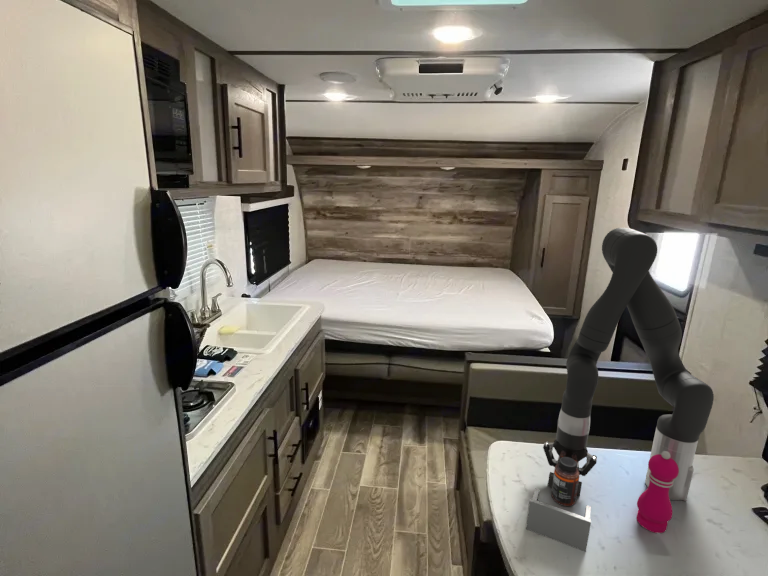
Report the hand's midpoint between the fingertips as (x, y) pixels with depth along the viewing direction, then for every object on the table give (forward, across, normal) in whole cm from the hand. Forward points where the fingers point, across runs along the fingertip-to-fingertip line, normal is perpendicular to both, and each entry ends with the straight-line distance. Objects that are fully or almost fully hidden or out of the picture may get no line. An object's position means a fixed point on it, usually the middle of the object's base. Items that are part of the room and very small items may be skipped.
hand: (565, 481), depth 117 cm
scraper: (+1, 0, -1) cm, 1 cm away
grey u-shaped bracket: (+1, 0, +16) cm, 16 cm away
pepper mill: (+1, -20, +4) cm, 21 cm away
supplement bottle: (+1, 0, +6) cm, 6 cm away
